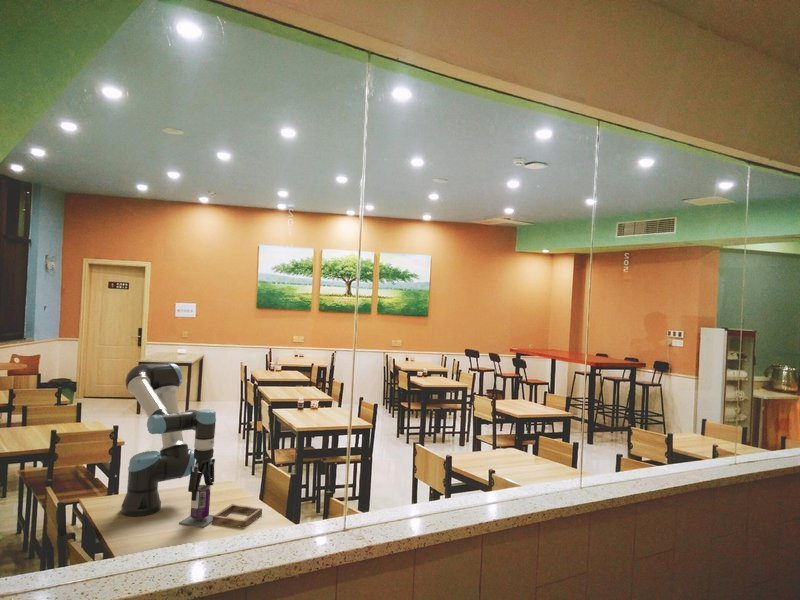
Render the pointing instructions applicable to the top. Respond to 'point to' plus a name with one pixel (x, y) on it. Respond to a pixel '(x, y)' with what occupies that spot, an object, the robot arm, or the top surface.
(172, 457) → the robot arm
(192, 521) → the coaster
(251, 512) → the frame
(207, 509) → the beverage can
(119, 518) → the top surface
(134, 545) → the top surface
